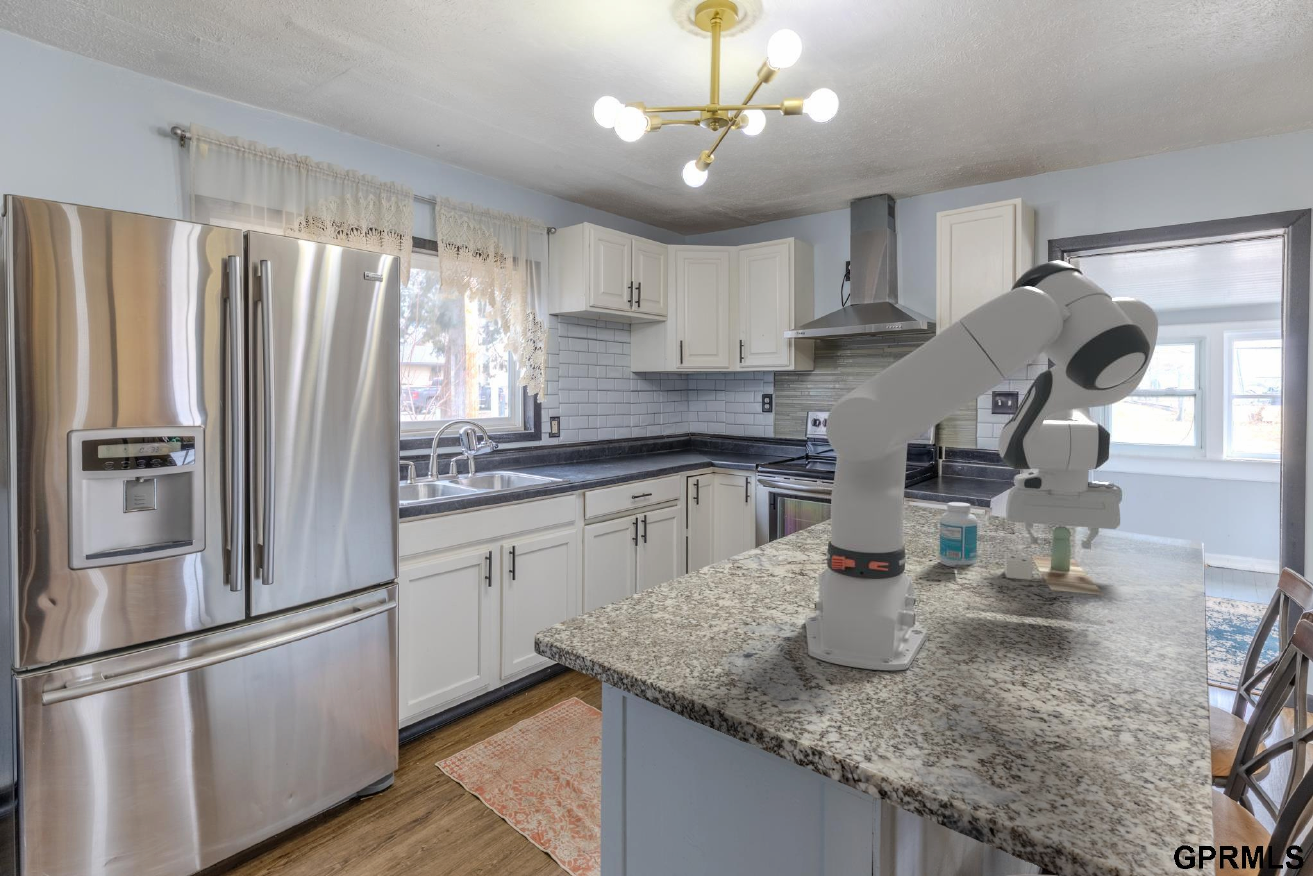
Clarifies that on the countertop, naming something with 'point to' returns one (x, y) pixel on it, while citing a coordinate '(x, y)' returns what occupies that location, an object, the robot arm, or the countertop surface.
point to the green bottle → (1061, 549)
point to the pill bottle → (958, 535)
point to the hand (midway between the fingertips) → (1059, 546)
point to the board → (1066, 577)
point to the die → (1018, 567)
